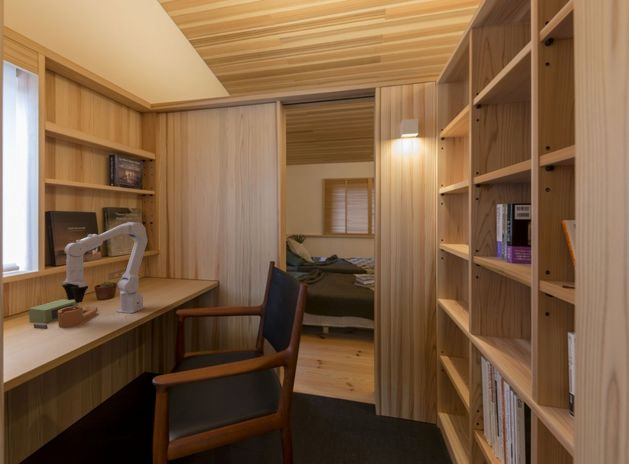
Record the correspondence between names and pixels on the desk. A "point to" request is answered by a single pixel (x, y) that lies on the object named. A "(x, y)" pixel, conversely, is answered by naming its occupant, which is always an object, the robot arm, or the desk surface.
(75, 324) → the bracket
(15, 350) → the desk surface
